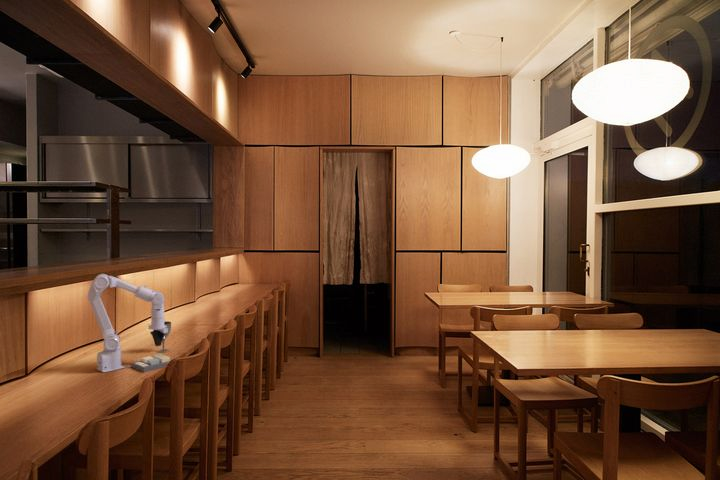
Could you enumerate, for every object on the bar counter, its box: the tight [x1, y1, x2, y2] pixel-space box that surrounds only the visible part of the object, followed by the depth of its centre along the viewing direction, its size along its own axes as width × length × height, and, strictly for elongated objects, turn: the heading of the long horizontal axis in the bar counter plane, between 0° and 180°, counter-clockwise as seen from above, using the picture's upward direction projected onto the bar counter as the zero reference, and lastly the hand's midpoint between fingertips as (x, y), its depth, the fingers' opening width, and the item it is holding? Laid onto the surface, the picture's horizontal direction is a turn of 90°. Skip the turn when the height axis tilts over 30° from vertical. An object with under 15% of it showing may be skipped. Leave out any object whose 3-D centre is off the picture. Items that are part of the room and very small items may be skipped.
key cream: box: [140, 355, 154, 363], centre depth 214 cm, size 4×4×2 cm
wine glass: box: [155, 320, 172, 354], centre depth 239 cm, size 8×8×15 cm
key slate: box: [147, 358, 159, 365], centre depth 211 cm, size 4×4×2 cm
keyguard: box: [130, 358, 173, 373], centre depth 214 cm, size 15×12×2 cm
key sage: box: [151, 353, 165, 359], centre depth 218 cm, size 4×4×2 cm
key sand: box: [158, 355, 171, 363], centre depth 215 cm, size 4×4×2 cm
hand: (158, 345), depth 218 cm, fingers closed
